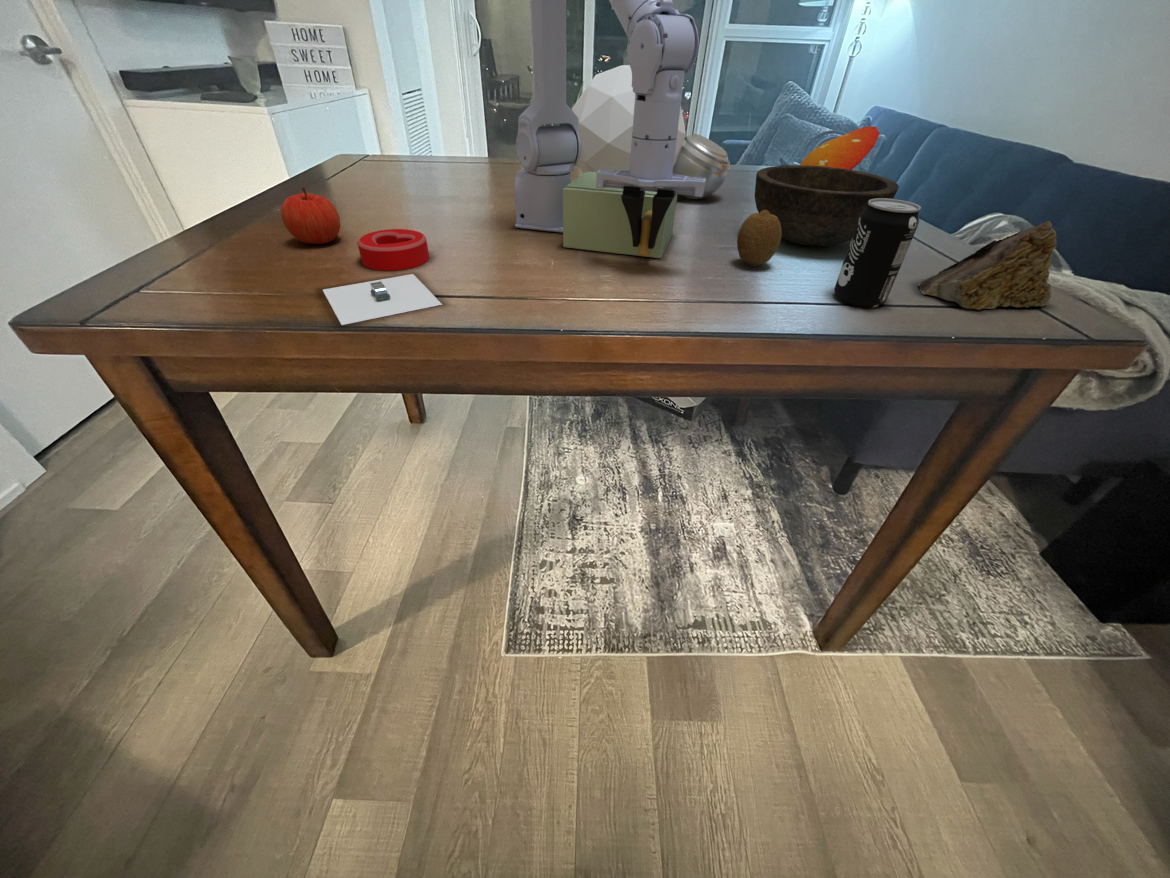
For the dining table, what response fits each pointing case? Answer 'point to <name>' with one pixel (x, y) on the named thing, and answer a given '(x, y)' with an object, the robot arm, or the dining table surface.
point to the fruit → (759, 238)
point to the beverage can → (876, 251)
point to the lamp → (610, 133)
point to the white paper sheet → (379, 298)
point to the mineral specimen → (1000, 273)
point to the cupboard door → (606, 223)
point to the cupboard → (589, 183)
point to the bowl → (818, 200)
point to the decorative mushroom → (844, 149)
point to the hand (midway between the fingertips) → (643, 245)
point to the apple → (310, 218)
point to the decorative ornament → (393, 249)
